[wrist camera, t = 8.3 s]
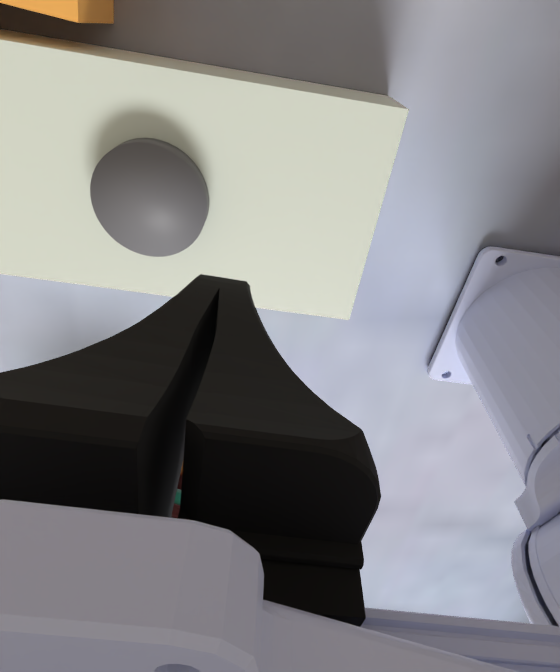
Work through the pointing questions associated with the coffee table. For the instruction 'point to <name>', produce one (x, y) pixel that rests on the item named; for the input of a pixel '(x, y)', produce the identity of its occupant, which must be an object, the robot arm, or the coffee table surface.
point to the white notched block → (187, 174)
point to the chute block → (70, 9)
